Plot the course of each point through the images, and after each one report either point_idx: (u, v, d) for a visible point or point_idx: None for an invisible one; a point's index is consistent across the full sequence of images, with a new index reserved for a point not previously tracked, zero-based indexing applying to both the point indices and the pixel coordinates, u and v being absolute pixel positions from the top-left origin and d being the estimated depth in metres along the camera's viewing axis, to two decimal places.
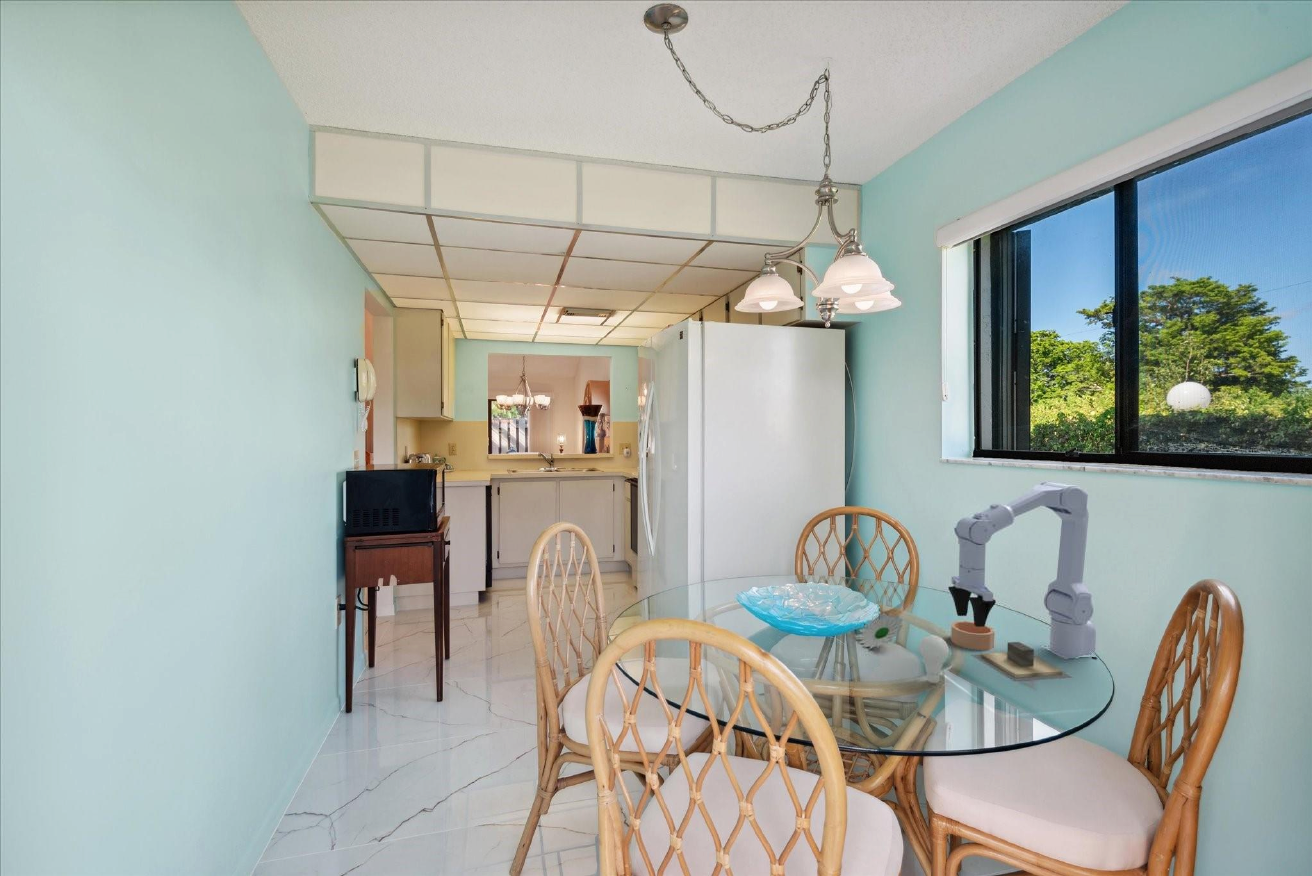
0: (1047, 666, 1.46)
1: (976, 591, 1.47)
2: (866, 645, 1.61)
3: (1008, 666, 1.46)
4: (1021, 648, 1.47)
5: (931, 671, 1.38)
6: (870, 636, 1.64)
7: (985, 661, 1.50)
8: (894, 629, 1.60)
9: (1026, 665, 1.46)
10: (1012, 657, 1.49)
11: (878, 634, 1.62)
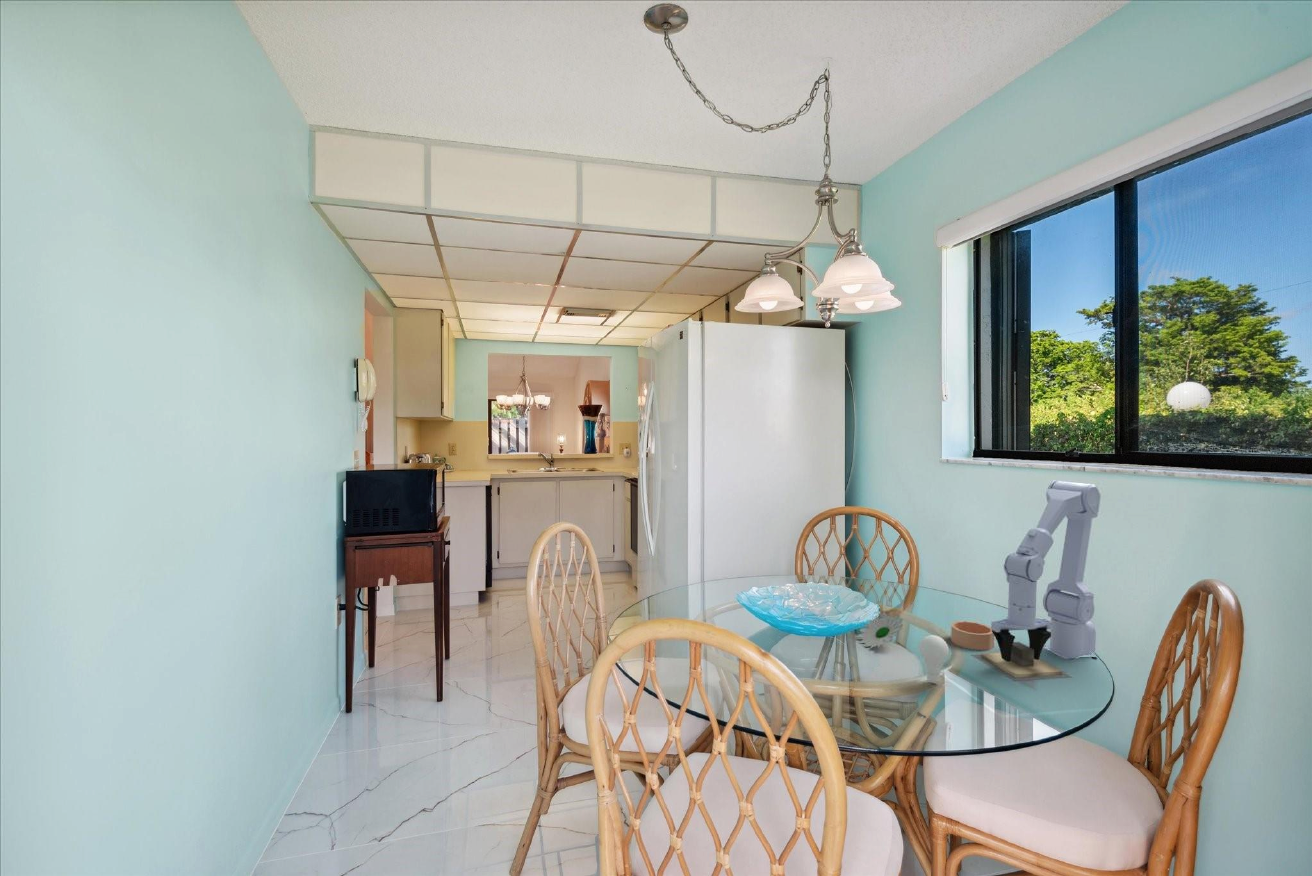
0: (1047, 666, 1.46)
1: None
2: (867, 645, 1.61)
3: (1008, 666, 1.46)
4: (1021, 648, 1.47)
5: (931, 671, 1.38)
6: (871, 636, 1.64)
7: (985, 661, 1.50)
8: (894, 629, 1.60)
9: (1026, 665, 1.46)
10: (1012, 657, 1.49)
11: (879, 634, 1.62)
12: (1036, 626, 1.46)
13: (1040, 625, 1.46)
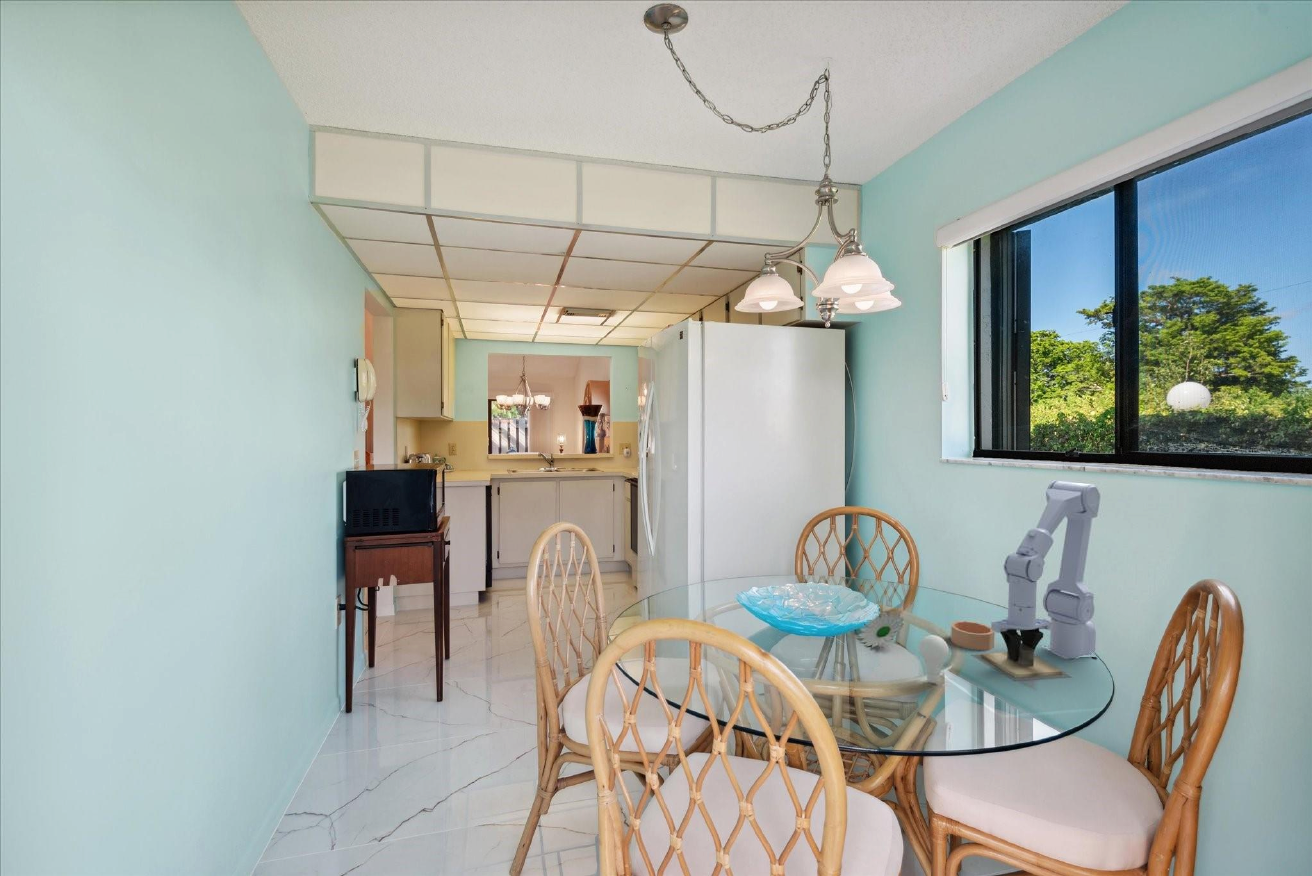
0: (1047, 666, 1.46)
1: None
2: (868, 644, 1.62)
3: (1008, 666, 1.46)
4: (1021, 648, 1.47)
5: (931, 671, 1.38)
6: (872, 635, 1.65)
7: (985, 661, 1.50)
8: (895, 628, 1.61)
9: (1026, 665, 1.46)
10: None
11: (880, 633, 1.63)
12: (1036, 626, 1.46)
13: (1040, 625, 1.46)
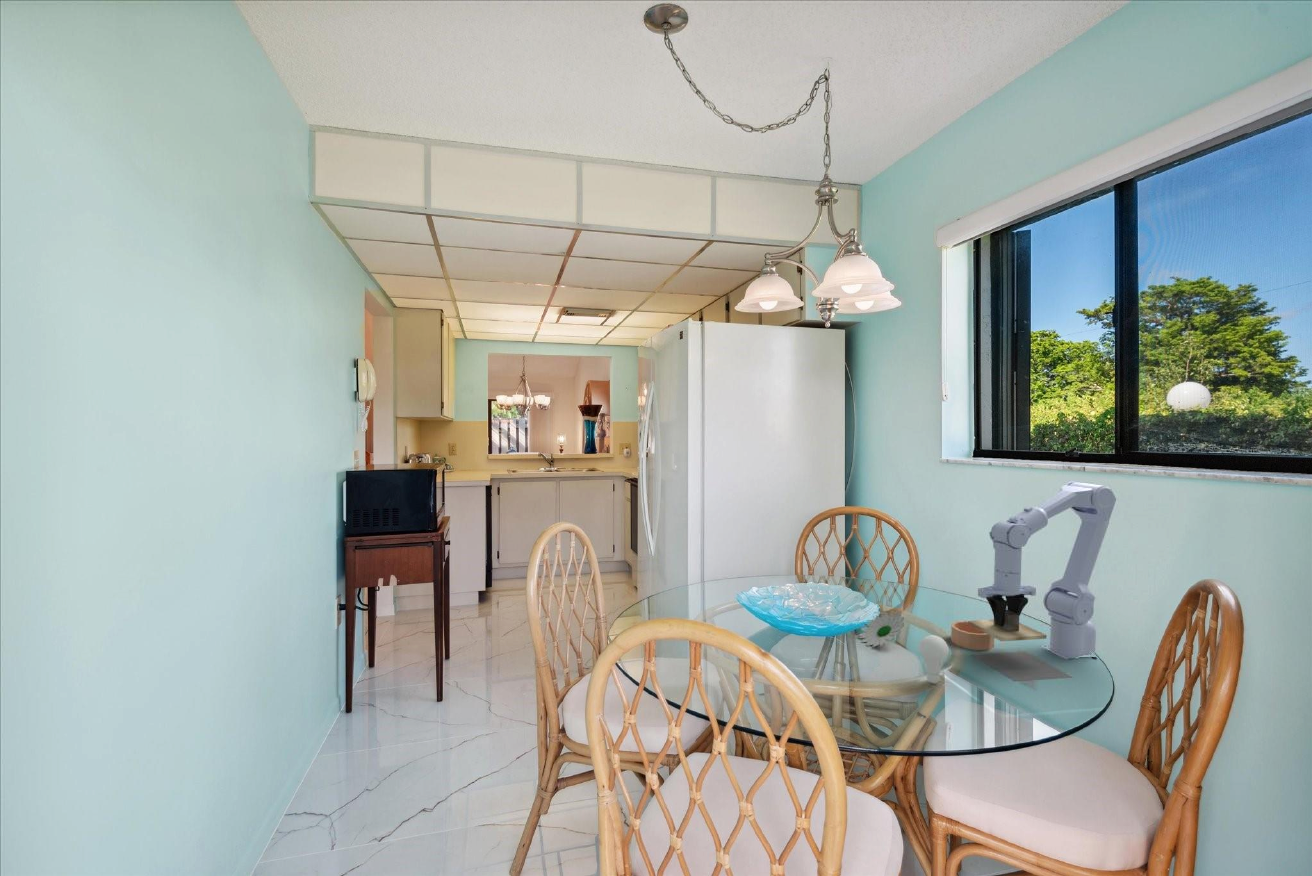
0: (1032, 631, 1.49)
1: None
2: (869, 643, 1.62)
3: (994, 631, 1.50)
4: (1007, 614, 1.50)
5: (931, 671, 1.38)
6: (873, 634, 1.65)
7: (985, 661, 1.50)
8: (896, 627, 1.61)
9: (1012, 630, 1.50)
10: None
11: (881, 632, 1.63)
12: (1021, 592, 1.50)
13: (1025, 591, 1.50)
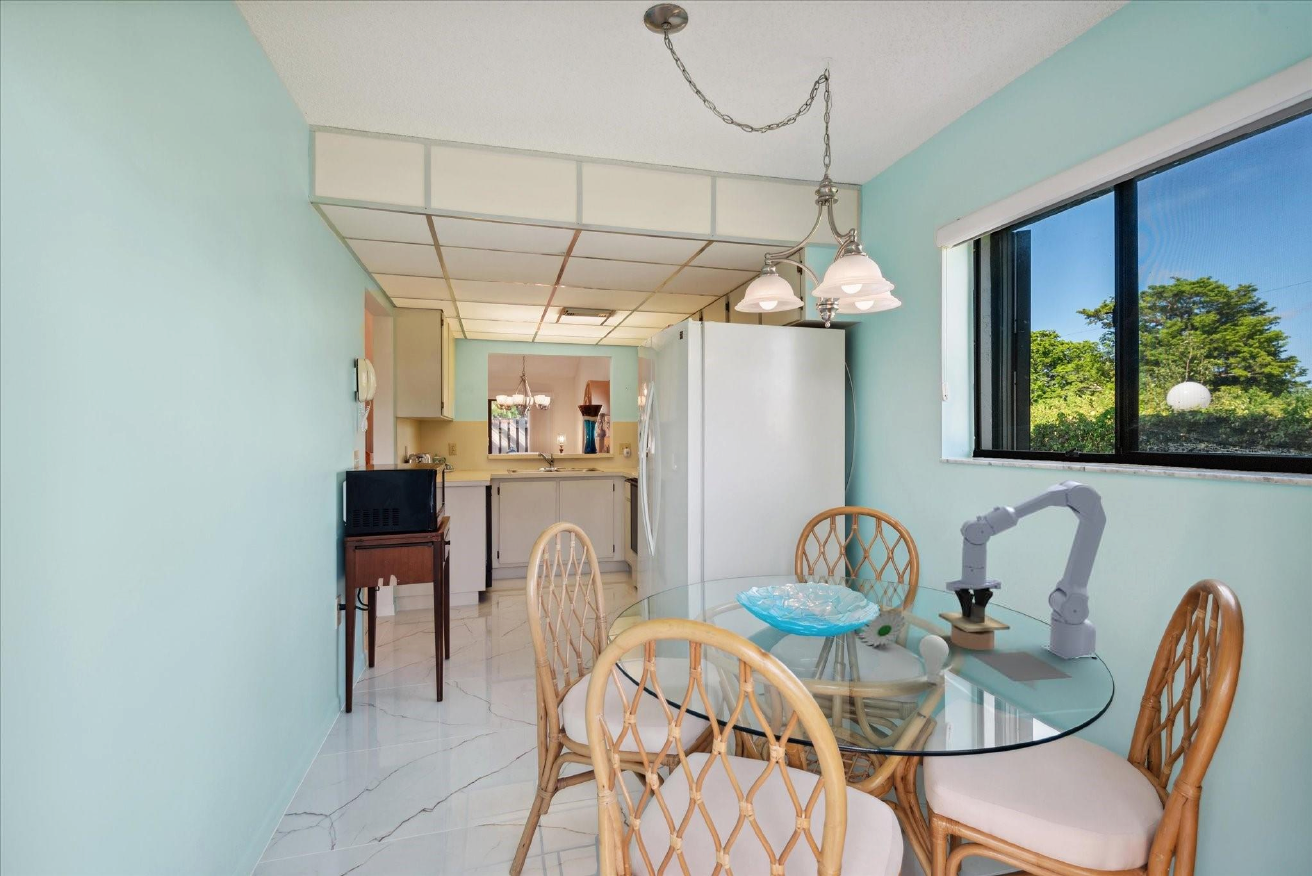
0: (997, 623, 1.60)
1: None
2: (870, 643, 1.62)
3: (961, 622, 1.60)
4: (973, 606, 1.61)
5: (931, 671, 1.38)
6: (873, 634, 1.65)
7: (985, 661, 1.50)
8: (897, 627, 1.62)
9: (978, 621, 1.60)
10: None
11: (881, 632, 1.64)
12: (986, 586, 1.60)
13: (990, 585, 1.61)
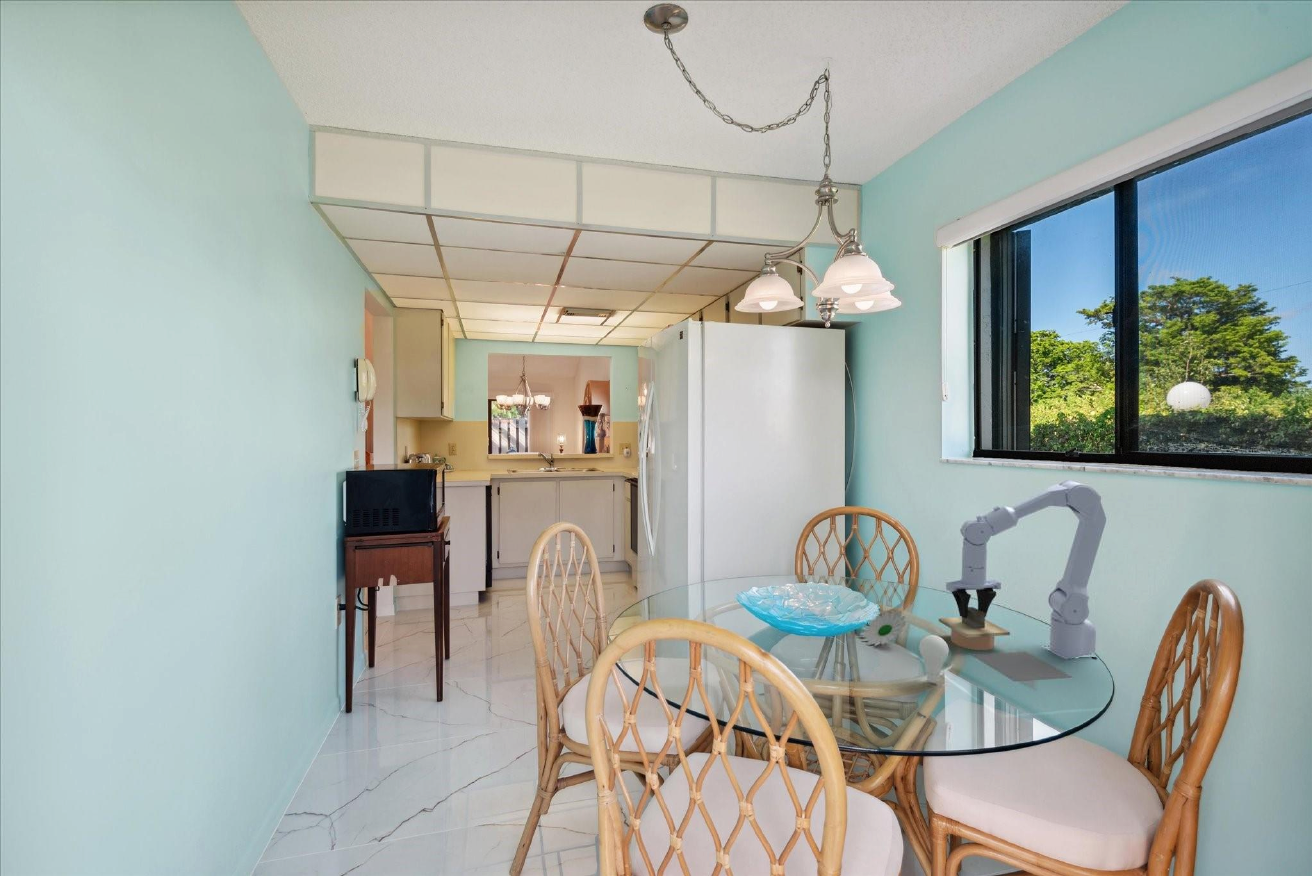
0: (997, 628, 1.60)
1: None
2: (870, 642, 1.63)
3: (961, 628, 1.60)
4: (973, 612, 1.61)
5: (931, 671, 1.38)
6: (874, 633, 1.66)
7: (985, 661, 1.50)
8: (897, 626, 1.62)
9: (978, 627, 1.60)
10: (965, 621, 1.63)
11: (882, 631, 1.64)
12: (986, 586, 1.60)
13: (990, 585, 1.61)
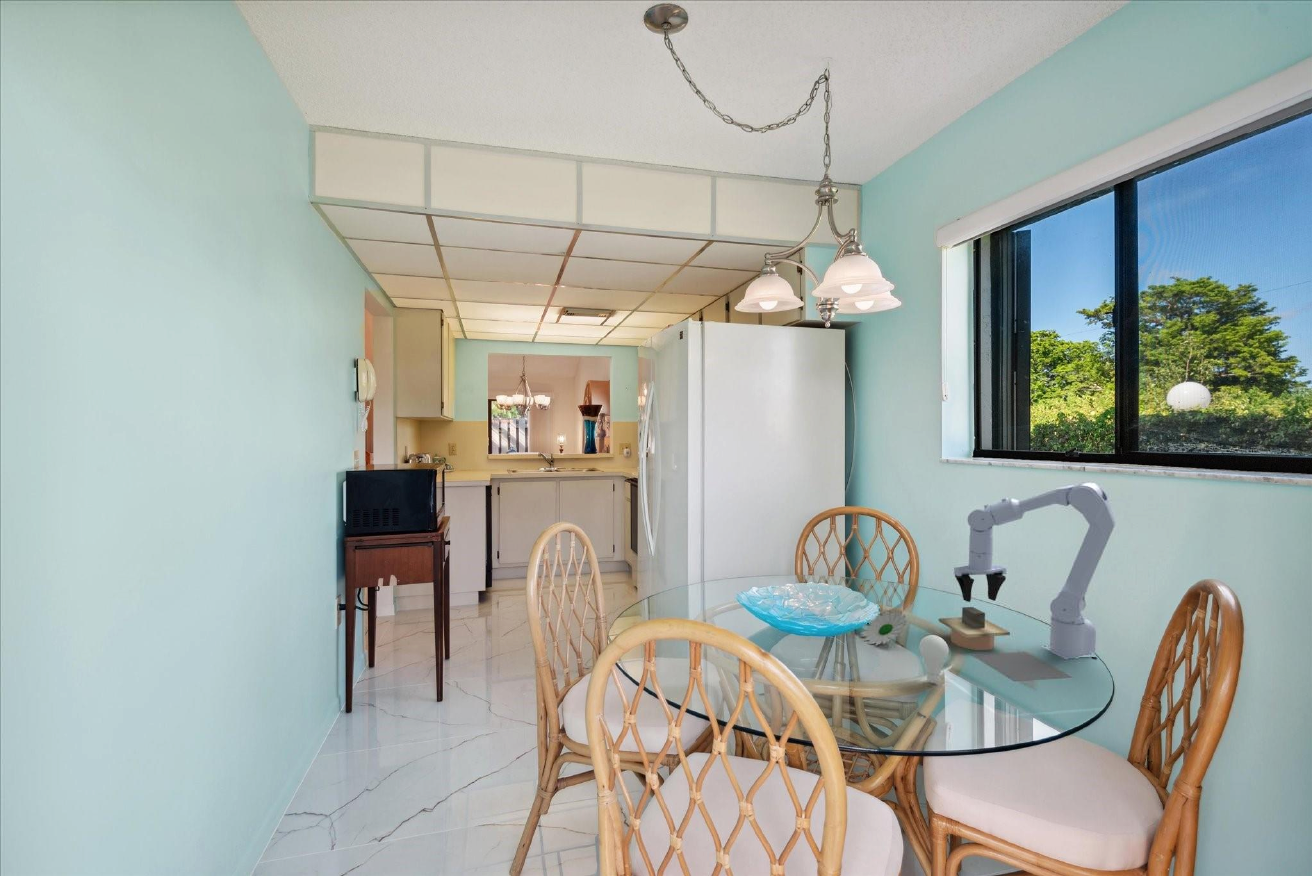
0: (997, 628, 1.60)
1: None
2: (871, 642, 1.63)
3: (961, 628, 1.60)
4: (973, 612, 1.61)
5: (931, 671, 1.38)
6: (874, 633, 1.66)
7: (985, 661, 1.50)
8: (898, 625, 1.63)
9: (978, 627, 1.60)
10: (965, 621, 1.63)
11: (882, 631, 1.64)
12: (992, 571, 1.68)
13: (996, 570, 1.68)
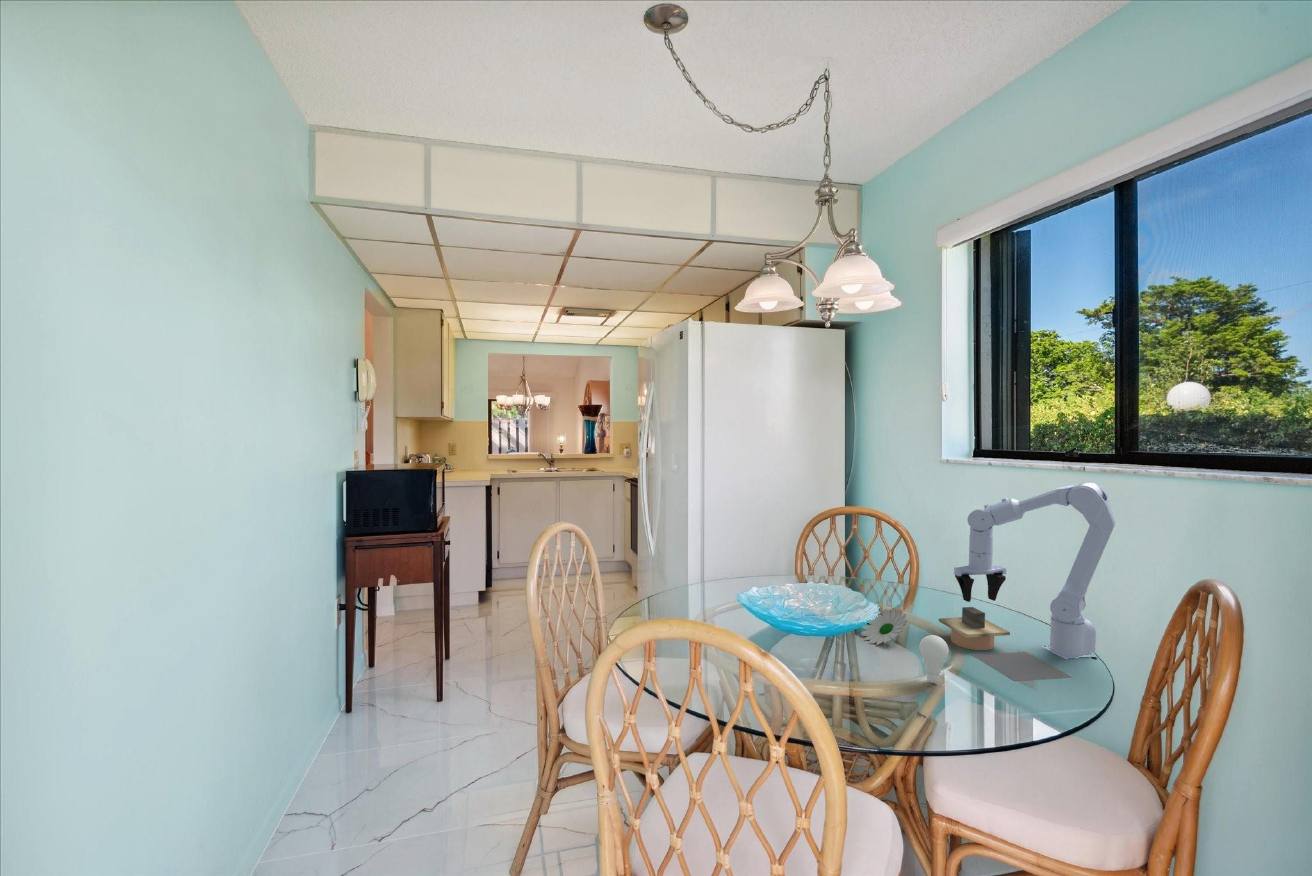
0: (997, 628, 1.60)
1: None
2: (872, 641, 1.64)
3: (961, 628, 1.60)
4: (973, 612, 1.61)
5: (931, 671, 1.38)
6: (875, 632, 1.67)
7: (985, 661, 1.50)
8: (899, 625, 1.63)
9: (978, 627, 1.60)
10: (965, 621, 1.63)
11: (883, 630, 1.65)
12: (992, 571, 1.68)
13: (996, 570, 1.68)
